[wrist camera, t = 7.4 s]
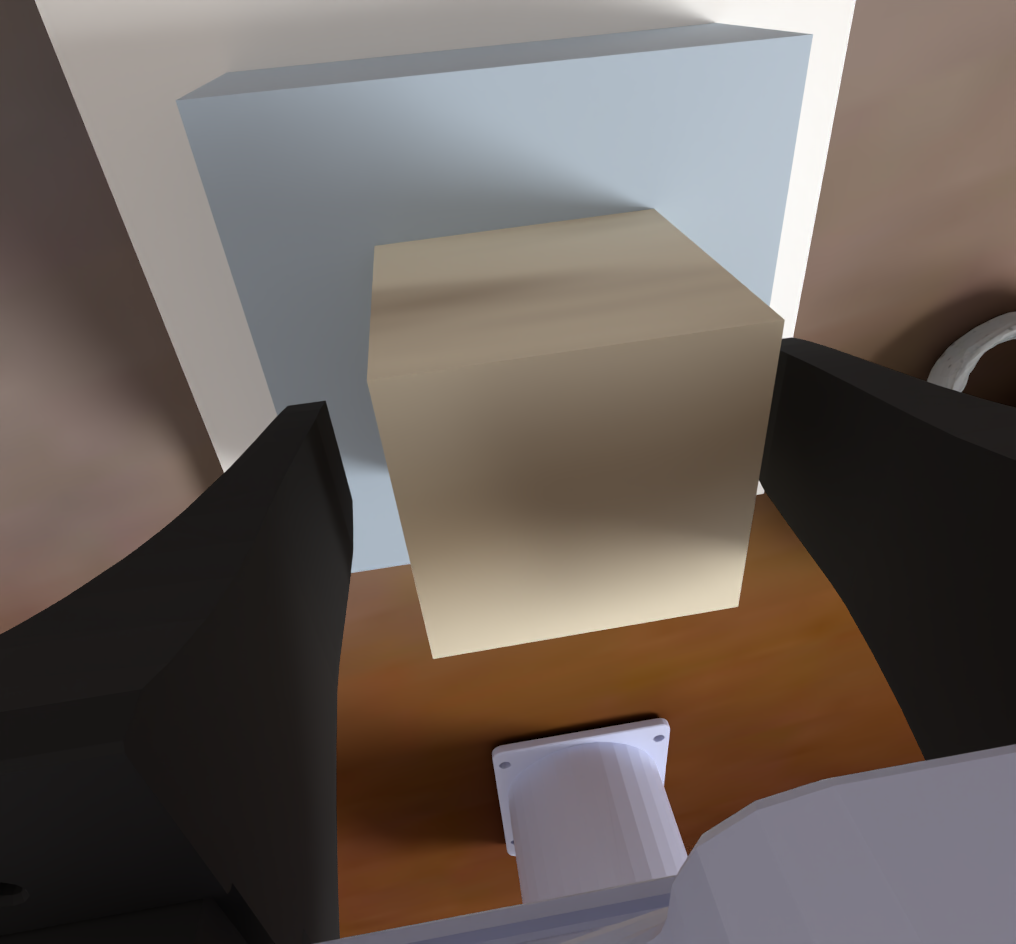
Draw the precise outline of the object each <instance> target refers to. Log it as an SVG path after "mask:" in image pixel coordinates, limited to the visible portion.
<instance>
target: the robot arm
mask: <svg viewBox="0 0 1016 944" xmlns="http://www.w3.org/2000/svg"><path fill="white" fill-rule="evenodd" d="M759 481H760V483H761V485H762V487H763V489H764V490H765V492H766V493H767V495H768V496H769V498H770V499H771V501H772V502H773V503H774V505H775V506H776V508H777V509H778V510H779V512H780V513H781V515H782V516H783V517H784V519H785V520H786V522H787V523H788V525H789V526H790V527H791V529H792V530H793V531H794V533H795V534H796V536H797V537H798V538H799V540H800V541H801V542H802V544H803V545H804V547H805V548H806V549H807V551H808V552H809V553H810V555H811V556H812V558H813V559H814V560H815V562H816V563H817V564H818V566H819V567H820V569H821V570H822V571H823V573H824V574H825V575H826V577H827V578H828V580H829V581H830V582H831V584H832V585H833V587H834V588H835V590H836V591H837V593H838V594H839V596H840V597H841V599H842V600H843V602H844V604H845V605H846V607H847V608H848V610H849V612H850V614H851V616H852V617H853V619H854V621H855V623H856V624H857V626H858V628H859V630H860V632H861V633H862V635H863V637H864V639H865V640H866V642H867V644H868V646H869V648H870V649H871V651H872V653H873V655H874V657H875V659H876V661H877V663H878V664H879V666H880V668H881V670H882V672H883V674H884V676H885V678H886V680H887V682H888V684H889V686H890V688H891V690H892V692H893V693H894V695H895V697H896V699H897V701H898V703H899V705H900V707H901V709H902V711H903V713H904V715H905V718H906V720H907V722H908V724H909V726H910V728H911V730H912V732H913V734H914V737H915V739H916V741H917V743H918V745H919V747H920V749H921V751H922V754H923V756H924V758H925V760H926V761H921V762H916V763H910V764H905V765H899V766H894V767H889V768H883V769H878V770H872V771H867V772H861V773H856V774H850V775H845V776H839V777H834V778H828V779H823V780H820V781H817V782H814V783H811V784H807V785H804V786H801V787H798V788H795V789H792V790H788V791H785V792H782V793H779V794H776V795H773V796H769V797H766V798H763V799H760V800H757V801H754V802H753V803H751V804H750V805H748V806H746V807H745V808H743V809H742V810H740V811H739V812H737V813H735V814H734V815H732V816H731V817H729V818H727V819H726V820H724V821H723V822H721V823H720V824H718V825H716V826H715V827H713V828H712V829H710V830H708V831H707V832H705V833H704V834H702V836H701V837H700V839H699V840H698V842H697V843H696V845H695V846H694V848H693V850H692V851H691V853H690V854H689V856H687V853H686V850H685V847H684V844H683V841H682V839H681V836H680V833H679V830H678V827H677V824H676V821H675V818H674V815H673V812H672V809H671V806H670V803H669V800H668V798H667V795H666V792H665V789H664V779H665V770H666V761H667V752H668V743H669V734H670V727H669V724H668V721H667V720H666V719H663V718H655V719H650V720H644V721H638V722H632V723H627V724H621V725H615V726H609V727H604V728H598V729H592V730H586V731H580V732H575V733H569V734H563V735H557V736H552V737H546V738H540V739H534V740H529V741H523V742H517V743H511V744H505V745H501V746H498V747H496V748H495V749H494V750H493V751H492V759H493V765H494V771H495V778H496V784H497V790H498V796H499V803H500V809H501V815H502V821H503V827H504V834H505V840H506V846H507V852H508V854H510V855H512V856H516V860H517V867H518V874H519V881H520V888H521V895H522V901H523V904H520V905H515V906H509V907H504V908H499V909H494V910H488V911H483V912H478V913H472V914H467V915H462V916H457V917H451V918H446V919H441V920H436V921H430V922H425V923H420V924H415V925H409V926H404V927H399V928H394V929H388V930H383V931H378V932H373V933H367V934H362V935H357V936H351V937H346V938H341V939H340V936H339V907H338V873H337V814H336V737H337V686H338V674H339V662H340V654H341V647H342V639H343V631H344V623H345V615H346V608H347V600H348V592H349V584H350V576H351V568H352V559H353V500H352V496H351V492H350V489H349V485H348V481H347V477H346V474H345V470H344V466H343V463H342V459H341V455H340V451H339V448H338V444H337V440H336V437H335V433H334V429H333V426H332V422H331V418H330V414H329V411H328V407H327V403H326V401H319V402H311V403H304V404H297V405H289V406H287V407H286V408H285V409H284V410H283V411H282V412H281V413H280V414H279V415H278V416H277V417H276V418H275V419H274V420H273V421H272V422H271V423H270V424H269V425H268V427H267V428H266V429H265V430H264V431H263V432H262V433H261V434H260V435H259V437H258V438H257V439H256V440H255V441H254V442H253V443H252V444H251V445H250V446H249V447H248V448H247V449H246V451H245V452H244V453H243V454H242V455H241V456H240V457H239V458H238V459H237V460H236V461H235V462H234V463H233V464H232V465H231V467H230V468H229V469H228V470H227V471H226V472H225V473H224V474H223V475H222V476H220V477H219V478H218V479H217V480H216V481H215V482H214V483H213V484H212V485H211V486H210V487H209V488H208V489H207V490H206V491H205V492H204V493H203V494H202V495H201V496H199V497H198V498H197V499H196V500H195V501H194V502H193V503H192V504H191V505H190V506H189V507H188V508H187V509H186V510H185V511H183V512H182V513H181V514H180V515H179V516H178V517H177V518H175V519H174V520H173V521H172V522H171V523H169V524H168V525H167V526H166V527H165V528H163V529H162V530H161V531H160V532H158V533H157V534H156V535H154V536H153V537H152V538H150V539H149V540H148V541H147V542H145V543H144V544H143V545H141V546H140V547H139V548H138V549H136V550H135V551H134V552H132V553H131V554H129V555H128V556H127V557H125V558H124V559H123V560H121V561H119V562H118V563H116V564H115V565H113V566H112V567H110V568H109V569H107V570H106V571H104V572H103V573H101V574H100V575H98V576H97V577H95V578H94V579H92V580H91V581H89V582H88V583H86V584H85V585H83V586H82V587H80V588H79V589H77V590H76V591H74V592H73V593H71V594H70V595H68V596H67V597H65V598H63V599H62V600H60V601H58V602H57V603H55V604H53V605H52V606H50V607H48V608H47V609H45V610H43V611H41V612H40V613H38V614H36V615H35V616H33V617H31V618H29V619H28V620H26V621H24V622H22V623H21V624H19V625H17V626H15V627H13V628H11V629H10V630H8V631H6V632H4V633H2V634H0V944H1016V407H1011V406H1007V405H1003V404H1000V403H996V402H992V401H989V400H985V399H982V398H978V397H975V396H972V395H968V394H965V393H962V392H959V391H955V390H952V389H949V388H945V387H942V386H939V385H936V384H933V383H930V382H927V381H924V380H921V379H918V378H915V377H912V376H909V375H906V374H903V373H900V372H898V371H895V370H892V369H889V368H886V367H883V366H881V365H878V364H875V363H872V362H869V361H867V360H864V359H861V358H858V357H855V356H852V355H850V354H847V353H844V352H841V351H838V350H835V349H832V348H829V347H826V346H823V345H820V344H816V343H813V342H809V341H806V340H801V339H797V338H792V337H791V338H783V339H782V341H781V347H780V353H779V359H778V365H777V371H776V377H775V384H774V390H773V396H772V402H771V408H770V414H769V420H768V426H767V432H766V439H765V445H764V451H763V457H762V463H761V469H760V475H759Z"/></svg>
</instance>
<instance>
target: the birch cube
mask: <svg viewBox="0 0 1016 944" xmlns="http://www.w3.org/2000/svg"><path fill="white" fill-rule="evenodd" d="M784 322H785V320H784V319H783V318H782V317H781V316H780V315H779V314H777V313H776V312H775V311H774V310H773V309H772V308H770V307H769V306H768V305H767V304H766V303H764V302H763V301H762V300H761V299H760V298H759V297H757V296H756V295H755V294H754V293H753V292H751V291H750V290H749V289H748V288H747V287H746V286H744V285H743V284H742V283H741V282H740V281H739V280H737V279H736V278H735V277H734V276H733V275H731V274H730V273H729V272H728V271H727V270H726V269H724V268H723V267H722V266H721V265H720V264H719V263H717V262H716V261H715V260H714V259H713V258H711V257H710V256H709V255H708V254H707V253H706V252H704V251H703V250H702V249H701V248H700V247H699V246H697V245H696V244H695V243H694V242H693V241H691V240H690V239H689V238H688V237H687V236H686V235H684V234H683V233H682V232H681V231H680V230H678V229H677V228H676V227H675V226H674V225H673V224H671V223H670V222H669V221H668V220H667V219H666V218H664V217H663V216H662V215H661V214H660V213H658V212H657V211H656V210H655V209H648V210H640V211H633V212H625V213H618V214H610V215H603V216H595V217H588V218H580V219H573V220H565V221H558V222H550V223H543V224H535V225H528V226H520V227H512V228H505V229H497V230H490V231H482V232H475V233H467V234H460V235H452V236H445V237H437V238H430V239H422V240H415V241H407V242H400V243H392V244H385V245H377V246H374V263H373V281H372V298H371V316H370V333H369V351H368V368H367V384H368V388H369V392H370V396H371V400H372V405H373V409H374V413H375V417H376V421H377V426H378V430H379V434H380V438H381V442H382V446H383V451H384V455H385V459H386V463H387V467H388V472H389V476H390V480H391V484H392V488H393V493H394V497H395V501H396V505H397V509H398V514H399V518H400V522H401V526H402V530H403V534H404V539H405V543H406V547H407V551H408V555H409V560H410V564H411V568H412V572H413V576H414V581H415V585H416V589H417V593H418V597H419V602H420V606H421V610H422V614H423V618H424V623H425V627H426V631H427V635H428V639H429V643H430V648H431V652H432V656H433V659H436V658H441V657H447V656H453V655H459V654H465V653H470V652H476V651H482V650H488V649H494V648H500V647H505V646H511V645H517V644H523V643H529V642H535V641H540V640H546V639H552V638H558V637H564V636H570V635H575V634H581V633H587V632H593V631H599V630H605V629H610V628H616V627H622V626H628V625H634V624H640V623H645V622H651V621H657V620H663V619H669V618H675V617H680V616H686V615H692V614H698V613H704V612H710V611H715V610H721V609H727V608H733V607H738V603H739V597H740V591H741V585H742V579H743V573H744V567H745V561H746V555H747V549H748V542H749V536H750V530H751V524H752V518H753V512H754V506H755V500H756V494H757V487H758V481H759V475H760V469H761V463H762V457H763V451H764V445H765V439H766V432H767V426H768V420H769V414H770V408H771V402H772V396H773V390H774V384H775V377H776V371H777V365H778V359H779V353H780V347H781V341H782V335H783V329H784Z"/></svg>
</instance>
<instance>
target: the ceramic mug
mask: <svg viewBox="0 0 1016 944" xmlns="http://www.w3.org/2000/svg"><path fill="white" fill-rule="evenodd" d="M1012 339H1016V312H1009V313H1006V314H1004V315H1001V316H998V317H996V318H993V319H991V320H989V321H987V322H985V323H983V324H981V325H979V326H977V327H975V328H974V329H972V330H971V331H969V332H968V333H966V334H965V335H964V336H962V337H961V338H959V339H958V340H956V341H955V342H954V343H953V344H952V345H950V346H949V347H948V348H947V350H946V351H945V352H944V353H943V354H942V355H941V357H940V358H939V359H938V360H937V362H936V363H935V365H934V366H933V368H932V370H931V372H930V374H929V377H928V379H927V382H930V383H933V384H936V385H939V386H942V387H945V388H949V389H952V390H955V391H959V392H962V391H963V390H964V388H965V386H966V384H967V380H968V377H969V374H970V373H971V371H972V370H973V369H974V367H975V365H976V363H977V362H978V360H979V359H980V357H981V356H982V355H983V354H984V353H985V352H986V351H988V350H989V349H991V348H993V347H994V346H996V345H997V344H999V343H1002V342H1006V341H1009V340H1012Z"/></svg>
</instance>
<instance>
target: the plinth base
mask: <svg viewBox="0 0 1016 944" xmlns="http://www.w3.org/2000/svg"><path fill="white" fill-rule="evenodd" d="M35 2H36V5H37V7H38V10H39V12H40V15H41V17H42V20H43V22H44V25H45V27H46V30H47V32H48V35H49V37H50V40H51V42H52V45H53V47H54V50H55V52H56V55H57V57H58V60H59V62H60V65H61V67H62V70H63V72H64V75H65V77H66V80H67V82H68V85H69V87H70V90H71V92H72V95H73V97H74V100H75V102H76V105H77V107H78V110H79V112H80V115H81V117H82V120H83V122H84V125H85V127H86V130H87V132H88V135H89V137H90V140H91V142H92V145H93V147H94V150H95V152H96V155H97V157H98V160H99V162H100V165H101V167H102V170H103V172H104V175H105V177H106V180H107V182H108V185H109V187H110V190H111V192H112V195H113V197H114V200H115V202H116V205H117V207H118V210H119V212H120V214H121V217H122V219H123V222H124V224H125V227H126V229H127V232H128V234H129V237H130V239H131V242H132V244H133V247H134V249H135V252H136V254H137V257H138V259H139V262H140V264H141V267H142V269H143V272H144V274H145V277H146V279H147V282H148V284H149V287H150V289H151V292H152V294H153V297H154V299H155V302H156V304H157V307H158V309H159V312H160V314H161V317H162V319H163V322H164V324H165V327H166V329H167V332H168V334H169V337H170V339H171V342H172V344H173V347H174V349H175V352H176V354H177V357H178V359H179V362H180V364H181V367H182V369H183V372H184V374H185V377H186V379H187V382H188V384H189V387H190V389H191V392H192V394H193V397H194V399H195V402H196V404H197V407H198V409H199V412H200V414H201V417H202V419H203V422H204V424H205V427H206V429H207V431H208V434H209V436H210V439H211V441H212V444H213V446H214V449H215V451H216V454H217V456H218V459H219V461H220V464H221V466H222V469H223V471H224V473H225V472H226V471H227V470H228V469H229V468H230V467H231V465H232V464H233V463H234V462H235V461H236V460H237V459H238V458H239V457H240V456H241V455H242V454H243V453H244V452H245V451H246V449H247V448H248V447H249V446H250V445H251V444H252V443H253V442H254V441H255V440H256V439H257V438H258V437H259V435H260V434H261V433H262V432H263V431H264V430H265V429H266V428H267V427H268V425H269V424H270V423H271V422H272V421H273V420H274V419H275V418H276V417H277V416H278V415H279V414H280V413H281V412H282V411H283V410H284V409H285V408H286V407H287V406H289V405H297V404H304V403H311V402H319V401H326V403H327V407H328V411H329V414H330V418H331V422H332V426H333V429H334V433H335V437H336V440H337V444H338V448H339V451H340V455H341V459H342V463H343V466H344V470H345V474H346V477H347V481H348V485H349V489H350V492H351V496H352V500H353V559H352V568H351V573H353V572H360V571H366V570H373V569H379V568H386V567H392V566H399V565H405V564H410V560H409V555H408V551H407V547H406V543H405V539H404V534H403V530H402V526H401V522H400V518H399V514H398V509H397V505H396V501H395V497H394V493H393V488H392V484H391V480H390V476H389V472H388V467H387V463H386V459H385V455H384V451H383V446H382V442H381V438H380V434H379V430H378V426H377V421H376V417H375V413H374V409H373V405H372V400H371V396H370V392H369V388H368V384H367V368H368V351H369V333H370V316H371V298H372V281H373V263H374V246H377V245H385V244H392V243H400V242H407V241H415V240H422V239H430V238H437V237H445V236H452V235H460V234H467V233H475V232H482V231H490V230H497V229H505V228H512V227H520V226H528V225H535V224H543V223H550V222H558V221H565V220H573V219H580V218H588V217H595V216H603V215H610V214H618V213H625V212H633V211H640V210H648V209H655V210H656V211H657V212H658V213H660V214H661V215H662V216H663V217H664V218H666V219H667V220H668V221H669V222H670V223H671V224H673V225H674V226H675V227H676V228H677V229H678V230H680V231H681V232H682V233H683V234H684V235H686V236H687V237H688V238H689V239H690V240H691V241H693V242H694V243H695V244H696V245H697V246H699V247H700V248H701V249H702V250H703V251H704V252H706V253H707V254H708V255H709V256H710V257H711V258H713V259H714V260H715V261H716V262H717V263H719V264H720V265H721V266H722V267H723V268H724V269H726V270H727V271H728V272H729V273H730V274H731V275H733V276H734V277H735V278H736V279H737V280H739V281H740V282H741V283H742V284H743V285H744V286H746V287H747V288H748V289H749V290H750V291H751V292H753V293H754V294H755V295H756V296H757V297H759V298H760V299H761V300H762V301H763V302H764V303H766V304H767V305H768V306H769V307H770V308H772V309H773V310H774V311H775V312H776V313H777V314H779V315H780V316H781V317H782V318H783V319H784V320H785V322H784V329H783V335H782V339H783V338H791V337H792V338H793V335H794V329H795V324H796V318H797V313H798V308H799V302H800V297H801V292H802V286H803V281H804V275H805V270H806V265H807V259H808V254H809V249H810V243H811V238H812V233H813V227H814V222H815V216H816V211H817V206H818V200H819V195H820V190H821V184H822V179H823V174H824V168H825V163H826V157H827V152H828V147H829V141H830V136H831V131H832V125H833V120H834V114H835V109H836V104H837V98H838V93H839V88H840V82H841V77H842V72H843V66H844V61H845V55H846V50H847V45H848V39H849V34H850V29H851V23H852V18H853V12H854V7H855V2H856V0H35ZM759 494H764V489H763V487H762V485H761V483H760V481H758V487H757V494H756V495H759Z"/></svg>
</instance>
